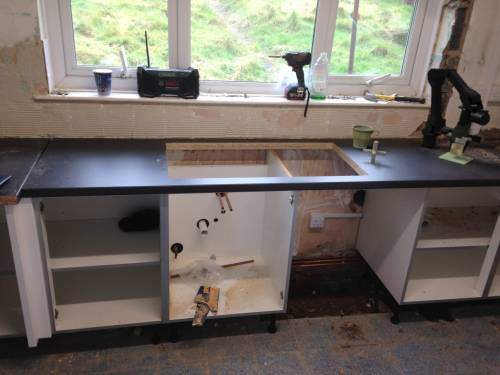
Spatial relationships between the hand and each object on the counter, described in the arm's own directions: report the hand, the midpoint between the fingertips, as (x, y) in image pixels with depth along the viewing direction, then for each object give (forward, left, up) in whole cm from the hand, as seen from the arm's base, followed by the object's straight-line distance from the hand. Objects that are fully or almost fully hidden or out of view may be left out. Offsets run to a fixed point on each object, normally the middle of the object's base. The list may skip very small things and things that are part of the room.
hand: (457, 151), depth 204 cm
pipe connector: (-23, -39, -4) cm, 45 cm away
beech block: (0, 0, -1) cm, 1 cm away
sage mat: (0, 0, -3) cm, 3 cm away
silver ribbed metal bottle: (-7, +26, -4) cm, 27 cm away
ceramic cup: (-38, -22, -4) cm, 44 cm away
